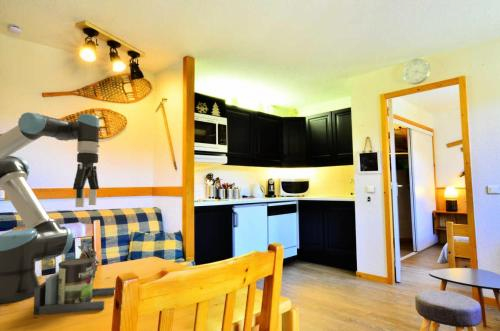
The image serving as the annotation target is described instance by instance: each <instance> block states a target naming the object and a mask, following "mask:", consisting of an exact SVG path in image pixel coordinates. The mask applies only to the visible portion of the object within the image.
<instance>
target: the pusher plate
mask: <svg viewBox="0 0 500 331" xmlns="http://www.w3.org/2000/svg"><path fill="white" fill-rule="evenodd" d="M58 281H59V270H58V271H57V272H55V273H53V274H51V275H50V276H48V277H47V278H45V282H46V293H45V305H51V304H58Z"/></svg>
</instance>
